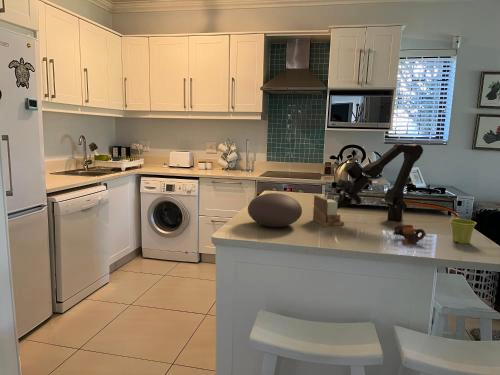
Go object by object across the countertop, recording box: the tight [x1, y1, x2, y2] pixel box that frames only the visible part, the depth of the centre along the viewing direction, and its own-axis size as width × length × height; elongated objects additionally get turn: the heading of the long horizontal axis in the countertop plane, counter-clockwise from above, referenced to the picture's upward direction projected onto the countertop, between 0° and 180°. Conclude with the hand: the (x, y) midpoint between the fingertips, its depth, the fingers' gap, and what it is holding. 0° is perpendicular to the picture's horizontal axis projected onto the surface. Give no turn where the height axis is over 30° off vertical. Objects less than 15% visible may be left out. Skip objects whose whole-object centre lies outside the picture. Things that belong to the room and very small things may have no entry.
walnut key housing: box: [312, 194, 345, 227], centre depth 181 cm, size 11×12×12 cm
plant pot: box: [450, 218, 477, 245], centre depth 154 cm, size 9×9×9 cm
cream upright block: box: [326, 198, 338, 221], centre depth 181 cm, size 5×7×9 cm
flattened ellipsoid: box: [247, 192, 303, 228], centre depth 173 cm, size 25×25×15 cm
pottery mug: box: [392, 224, 426, 246], centre depth 153 cm, size 12×10×8 cm
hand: (335, 208), depth 181 cm, fingers closed
